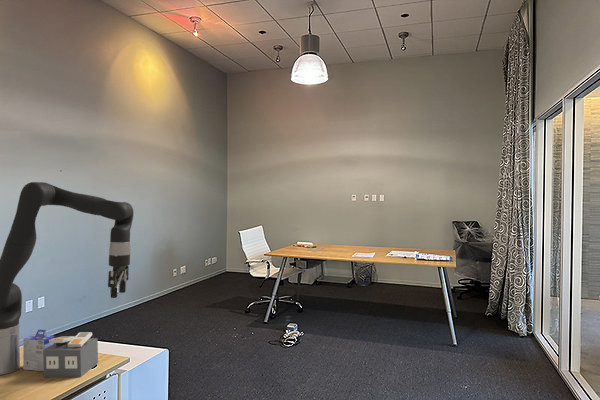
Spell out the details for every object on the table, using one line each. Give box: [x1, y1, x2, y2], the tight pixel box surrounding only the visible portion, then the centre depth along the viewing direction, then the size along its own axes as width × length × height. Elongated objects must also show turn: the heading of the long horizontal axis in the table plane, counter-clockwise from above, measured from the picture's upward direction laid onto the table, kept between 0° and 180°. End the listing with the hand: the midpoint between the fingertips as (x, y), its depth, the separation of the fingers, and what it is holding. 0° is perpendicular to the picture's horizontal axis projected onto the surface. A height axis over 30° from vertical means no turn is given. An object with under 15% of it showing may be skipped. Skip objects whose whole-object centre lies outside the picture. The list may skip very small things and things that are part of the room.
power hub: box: [43, 337, 99, 378], centre depth 153 cm, size 14×12×11 cm
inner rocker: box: [49, 335, 76, 344], centre depth 153 cm, size 5×8×1 cm, turn 179°
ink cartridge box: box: [22, 329, 55, 372], centre depth 155 cm, size 10×6×14 cm, turn 78°
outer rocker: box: [68, 331, 93, 347], centre depth 153 cm, size 5×8×1 cm, turn 179°
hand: (118, 295), depth 154 cm, fingers open, 8 cm apart
